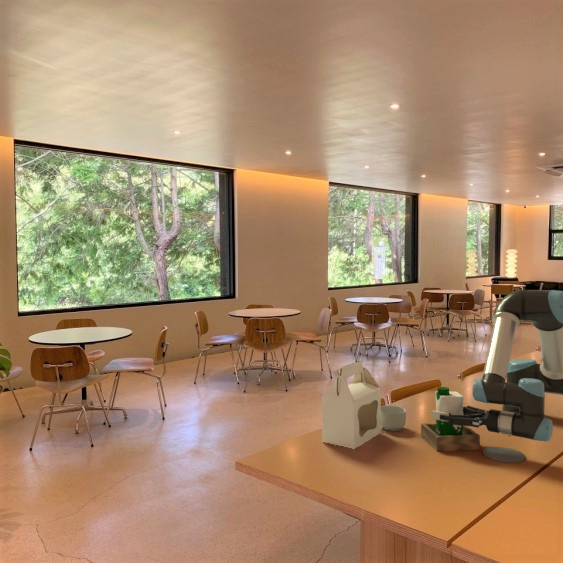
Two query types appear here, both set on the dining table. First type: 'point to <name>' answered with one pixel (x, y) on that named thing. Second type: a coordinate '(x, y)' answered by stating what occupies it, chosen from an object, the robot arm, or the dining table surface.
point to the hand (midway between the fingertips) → (438, 410)
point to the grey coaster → (504, 454)
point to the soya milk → (448, 411)
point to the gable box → (351, 408)
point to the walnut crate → (450, 439)
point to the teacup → (393, 417)
